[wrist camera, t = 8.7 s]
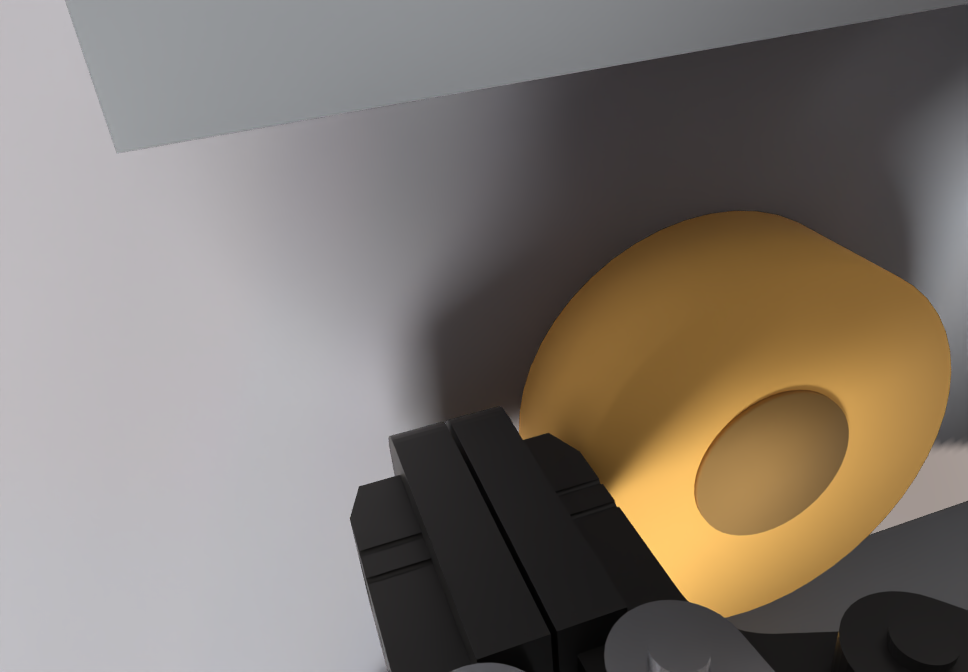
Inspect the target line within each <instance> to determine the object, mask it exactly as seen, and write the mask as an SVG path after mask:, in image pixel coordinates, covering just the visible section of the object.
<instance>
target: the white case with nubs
mask: <svg viewBox="0 0 968 672" xmlns="http://www.w3.org/2000/svg"><path fill="white" fill-rule="evenodd" d="M65 2H66V5H67V8H68V11H69V14H70V17H71V20H72V23H73V26H74V28H75V31H76V34H77V37H78V40H79V43H80V46H81V49H82V52H83V55H84V58H85V61H86V64H87V67H88V70H89V73H90V76H91V79H92V82H93V85H94V88H95V91H96V94H97V97H98V100H99V103H100V106H101V108H102V111H103V114H104V117H105V120H106V123H107V126H108V129H109V132H110V135H111V138H112V141H113V144H114V147H115V150H116V153H123V152H129V151H134V150H140V149H146V148H151V147H157V146H163V145H168V144H174V143H180V142H185V141H191V140H197V139H202V138H208V137H214V136H219V135H225V134H231V133H236V132H242V131H248V130H253V129H259V128H265V127H271V126H276V125H282V124H288V123H293V122H299V121H305V120H310V119H316V118H322V117H327V116H333V115H339V114H344V113H350V112H356V111H361V110H367V109H373V108H378V107H384V106H390V105H396V104H401V103H407V102H413V101H418V100H424V99H430V98H435V97H441V96H447V95H452V94H458V93H464V92H469V91H475V90H481V89H486V88H492V87H498V86H503V85H509V84H515V83H520V82H526V81H532V80H538V79H543V78H549V77H555V76H560V75H566V74H572V73H577V72H583V71H589V70H594V69H600V68H606V67H611V66H617V65H623V64H628V63H634V62H640V61H645V60H651V59H657V58H663V57H668V56H674V55H680V54H685V53H691V52H697V51H702V50H708V49H714V48H719V47H725V46H731V45H736V44H742V43H748V42H753V41H759V40H765V39H770V38H776V37H782V36H787V35H793V34H799V33H805V32H810V31H816V30H822V29H827V28H833V27H839V26H844V25H850V24H856V23H861V22H867V21H873V20H878V19H884V18H890V17H895V16H901V15H907V14H912V13H918V12H924V11H929V10H935V9H941V8H947V7H952V6H958V5H964V4H968V0H65ZM887 591H901V592H910V593H916V594H921V595H924V596H927V597H931V598H934V599H937V600H940V601H943V602H946V603H949V604H951V605H954V606H957V607H960V608H963V609H966V610H968V501H966V502H963V503H960V504H958V505H955V506H952V507H949V508H946V509H944V510H940V511H937V512H934V513H931V514H929V515H926V516H923V517H920V518H917V519H914V520H911V521H908V522H905V523H903V524H900V525H897V526H894V527H891V528H888V529H885V530H882V531H879V532H876V533H874V534H871V535H868V536H867V537H866V538H865V539H864V540H863V541H862V542H861V543H860V544H859V545H858V546H857V547H856V548H854V549H853V550H852V551H851V552H850V553H849V554H847V555H846V556H845V557H844V558H842V559H841V560H840V561H839V562H837V563H836V564H835V565H834V566H832V567H831V568H829V569H828V570H827V571H825V572H824V573H822V574H821V575H819V576H818V577H816V578H815V579H813V580H812V581H810V582H809V583H807V584H805V585H803V586H802V587H800V588H798V589H797V590H795V591H793V592H791V593H789V594H787V595H785V596H783V597H781V598H779V599H777V600H775V601H773V602H771V603H768V604H766V605H763V606H761V607H758V608H755V609H753V610H750V611H747V612H744V613H740V614H737V615H733V616H730V617H726V619H727V620H728V621H730V622H731V623H732V624H733V625H734V626H735V627H736V628H737V629H740V630H743V631H748V632H755V633H765V634H781V633H809V632H836V631H839V627H840V622H841V619H842V617H843V615H844V613H845V611H846V610H847V609H848V608H849V607H850V605H851V604H853V603H854V602H856V601H857V600H858V599H860V598H863V597H865V596H867V595H870V594H874V593H878V592H887Z"/></svg>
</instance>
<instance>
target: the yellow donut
mask: <svg viewBox="0 0 968 672" xmlns="http://www.w3.org/2000/svg"><path fill="white" fill-rule="evenodd" d="M950 379H951V358H950V348H949V344H948V339H947V335H946V331H945V329H944V326H943V324H942V322H941V319H940V317H939V315H938V313H937V312H936V310H935V309H934V307H933V306H932V305H931V303H930V302H929V300H928V299H927V298H926V297H925V296H924V295H923V294H922V293H921V292H920V291H919V290H917V289H916V288H915V287H914V286H913V285H911V284H910V283H908V282H906V281H905V280H903V279H901V278H900V277H898V276H896V275H894V274H893V273H891V272H889V271H887V270H885V269H883V268H881V267H880V266H878V265H876V264H874V263H872V262H870V261H868V260H867V259H865V258H863V257H861V256H859V255H857V254H856V253H854V252H852V251H850V250H848V249H846V248H844V247H843V246H841V245H839V244H837V243H835V242H833V241H831V240H830V239H828V238H826V237H824V236H822V235H820V234H819V233H817V232H815V231H813V230H811V229H809V228H807V227H806V226H804V225H802V224H800V223H798V222H796V221H793V220H791V219H788V218H785V217H782V216H779V215H775V214H770V213H764V212H758V211H728V212H720V213H712V214H707V215H703V216H700V217H696V218H692V219H688V220H685V221H682V222H680V223H677V224H675V225H672V226H670V227H667V228H665V229H662V230H660V231H658V232H656V233H654V234H652V235H650V236H649V237H647V238H645V239H643V240H641V241H639V242H637V243H636V244H634V245H633V246H631V247H630V248H628V249H627V250H626V251H624V252H623V253H621V254H620V255H618V256H617V257H615V258H614V259H612V260H611V261H610V262H609V263H608V264H607V265H605V266H604V267H603V268H602V269H601V270H600V271H599V272H597V273H596V274H595V275H594V276H593V277H592V278H590V280H589V281H588V282H587V283H586V284H585V285H584V286H583V287H582V288H581V289H580V290H579V291H578V292H577V293H576V294H575V295H574V297H573V298H572V299H571V300H570V301H569V303H568V304H567V305H566V307H565V308H564V309H563V311H562V312H561V313H560V315H559V316H558V317H557V318H556V320H555V321H554V323H553V325H552V326H551V328H550V330H549V331H548V333H547V335H546V336H545V338H544V340H543V341H542V343H541V345H540V347H539V349H538V352H537V354H536V356H535V358H534V361H533V363H532V365H531V367H530V370H529V374H528V377H527V380H526V383H525V387H524V390H523V395H522V401H521V407H520V415H519V434H520V436H521V437H522V439H523V440H525V439H528V438H532V437H535V436H539V435H542V434H546V433H550V434H552V435H553V436H555V437H557V438H558V439H560V440H562V441H563V442H565V443H567V444H568V445H570V446H571V447H573V448H575V449H576V450H578V451H580V452H581V454H582V455H583V457H584V458H585V459H586V461H587V462H588V464H589V465H590V466H591V468H592V469H593V471H594V472H595V473H596V475H597V476H598V478H599V481H600V484H603V485H604V486H605V487H606V489H607V490H608V492H609V493H610V494H611V496H612V497H613V499H614V500H615V504H616V506H617V507H620V508H621V510H622V511H623V513H624V514H625V515H626V517H627V518H628V520H629V521H630V522H631V524H632V525H633V527H634V528H635V529H636V531H637V532H638V534H639V535H640V536H641V538H642V539H643V541H644V542H645V543H646V545H647V546H648V548H649V549H650V550H651V552H652V553H653V555H654V556H655V557H656V559H657V560H658V562H659V563H660V564H661V566H662V567H663V569H664V570H665V571H666V573H667V574H668V576H669V577H670V578H671V580H672V581H673V583H674V584H675V585H676V587H677V588H678V590H679V591H680V592H681V593H682V595H683V596H684V597H685V598H686V599H687V601H689V602H691V603H695V604H699V605H701V606H704V607H706V608H709V609H711V610H713V611H715V612H716V613H718V614H720V615H722V616H723V617H724V618H726V617H730V616H733V615H737V614H740V613H744V612H747V611H750V610H753V609H755V608H758V607H761V606H763V605H766V604H768V603H771V602H773V601H775V600H777V599H779V598H781V597H783V596H785V595H787V594H789V593H791V592H793V591H795V590H797V589H798V588H800V587H802V586H803V585H805V584H807V583H809V582H810V581H812V580H813V579H815V578H816V577H818V576H819V575H821V574H822V573H824V572H825V571H827V570H828V569H829V568H831V567H832V566H834V565H835V564H836V563H837V562H839V561H840V560H841V559H842V558H844V557H845V556H846V555H847V554H849V553H850V552H851V551H852V550H853V549H854V548H856V547H857V546H858V545H859V544H860V543H861V542H862V541H863V540H864V539H865V538H866V537H867V536H868V535H870V533H871V532H872V531H873V530H874V529H875V528H876V527H877V526H878V525H879V524H880V523H881V522H882V521H883V520H884V518H886V516H887V515H888V514H889V513H890V512H891V510H892V509H893V508H894V506H895V505H896V504H897V503H898V502H899V500H900V499H901V498H902V496H903V495H904V494H905V492H906V491H907V489H908V488H909V486H910V485H911V483H912V482H913V480H914V479H915V477H916V476H917V474H918V472H919V470H920V469H921V467H922V465H923V463H924V462H925V460H926V458H927V456H928V454H929V452H930V450H931V448H932V446H933V443H934V441H935V439H936V437H937V434H938V432H939V429H940V426H941V423H942V420H943V417H944V414H945V410H946V405H947V400H948V396H949V390H950Z"/></svg>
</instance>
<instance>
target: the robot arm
mask: <svg viewBox="0 0 968 672" xmlns="http://www.w3.org/2000/svg"><path fill="white" fill-rule="evenodd" d="M389 447H390V453H391V458H392V463H393V468H394V474H395V477H391V478H387V479H384V480H380V481H377V482H373V483H370V484H366V485H363V486H359V489H358V492H357V496H356V499H355V503H354V506H353V510H352V513H351V517H350V521H351V526H352V530H353V534H354V538H355V543H356V547H357V551H358V555H359V560H360V564H361V568H362V572H363V577H364V581H365V585H366V589H367V593H368V598H369V602H370V606H371V610H372V614H373V617H374V621H375V625H376V629H377V632H378V636H379V640H380V643H381V647H382V651H383V655H384V659H385V662H386V666H387V670H388V672H968V610H966V609H963V608H960V607H957V606H954V605H951V604H949V603H946V602H943V601H940V600H937V599H934V598H931V597H927V596H924V595H921V594H916V593H910V592H901V591H887V592H878V593H874V594H870V595H867V596H865V597H863V598H860V599H858V600H857V601H856V602H854V603H853V604H851V605H850V607H849V608H848V609H847V610H846V611H845V613H844V615H843V617H842V619H841V622H840V627H839V631H836V632H809V633H781V634H765V633H755V632H748V631H743V630H740V629H737V628H736V627H735V626H734V625H733V624H732V623H731V622H730V621H728V620H727V619H726V618H724V617H723V616H722V615H720V614H718V613H716V612H715V611H713V610H711V609H709V608H706V607H704V606H701V605H699V604H695V603H691V602H689V601H687V599H686V598H685V597H684V596H683V595H682V593H681V592H680V591H679V590H678V588H677V587H676V585H675V584H674V583H673V581H672V580H671V578H670V577H669V576H668V574H667V573H666V571H665V570H664V569H663V567H662V566H661V564H660V563H659V562H658V560H657V559H656V557H655V556H654V555H653V553H652V552H651V550H650V549H649V548H648V546H647V545H646V543H645V542H644V541H643V539H642V538H641V536H640V535H639V534H638V532H637V531H636V529H635V528H634V527H633V525H632V524H631V522H630V521H629V520H628V518H627V517H626V515H625V514H624V513H623V511H622V510H621V508H620V507H617V506H616V504H615V500H614V499H613V497H612V496H611V494H610V493H609V492H608V490H607V489H606V487H605V486H604V485H603V484H600V481H599V478H598V476H597V475H596V473H595V472H594V471H593V469H592V468H591V466H590V465H589V464H588V462H587V461H586V459H585V458H584V457H583V455H582V454H581V452H580V451H578V450H576V449H575V448H573V447H571V446H570V445H568V444H567V443H565V442H563V441H562V440H560V439H558V438H557V437H555V436H553V435H552V434H550V433H546V434H542V435H539V436H535V437H532V438H528V439H525V440H523V439H522V437H521V436H520V434H519V433H518V431H517V429H516V428H515V426H514V425H513V423H512V421H511V420H510V418H509V417H508V415H507V413H506V412H505V411H504V409H503V408H502V407H500V406H498V407H495V408H491V409H487V410H483V411H480V412H476V413H472V414H469V415H465V416H461V417H458V418H454V419H450V420H447V421H446V424H445V423H444V422H440V423H436V424H433V425H429V426H425V427H421V428H418V429H414V430H410V431H407V432H403V433H399V434H396V435H392V436H389Z"/></svg>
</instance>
